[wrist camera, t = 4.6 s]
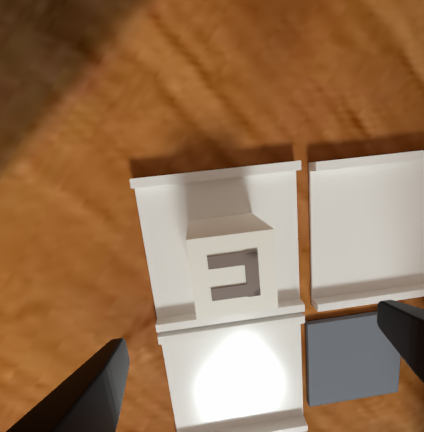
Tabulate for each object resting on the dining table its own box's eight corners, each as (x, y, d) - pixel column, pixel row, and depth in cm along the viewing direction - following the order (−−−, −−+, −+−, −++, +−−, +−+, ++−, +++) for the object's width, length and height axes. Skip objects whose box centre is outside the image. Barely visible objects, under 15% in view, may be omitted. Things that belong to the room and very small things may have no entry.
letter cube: (252, 213, 16) (274, 229, 11) (256, 272, 17) (278, 308, 12) (188, 220, 16) (185, 240, 11) (196, 280, 17) (196, 320, 12)
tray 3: (456, 146, 16) (473, 144, 15) (441, 285, 18) (454, 291, 17) (308, 162, 16) (316, 161, 15) (311, 304, 18) (317, 311, 17)
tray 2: (298, 308, 18) (304, 316, 17) (302, 418, 20) (307, 431, 19) (159, 328, 17) (157, 337, 16) (178, 439, 20) (178, 453, 19)
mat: (399, 307, 19) (403, 310, 18) (393, 387, 20) (397, 391, 20) (305, 321, 18) (307, 325, 18) (307, 402, 20) (309, 406, 19)
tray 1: (294, 161, 16) (300, 160, 15) (298, 303, 18) (304, 311, 17) (133, 178, 15) (129, 178, 14) (158, 323, 17) (156, 332, 16)
